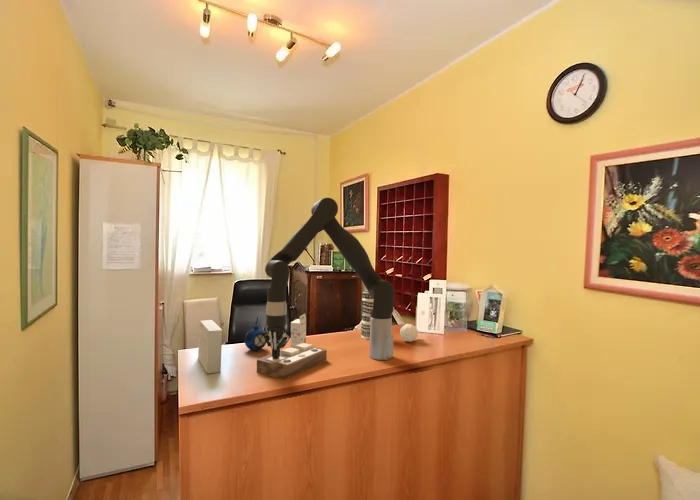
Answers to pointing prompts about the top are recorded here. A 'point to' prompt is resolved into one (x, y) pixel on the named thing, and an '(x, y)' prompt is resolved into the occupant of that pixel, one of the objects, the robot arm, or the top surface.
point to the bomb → (255, 338)
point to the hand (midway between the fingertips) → (275, 358)
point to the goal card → (299, 356)
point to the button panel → (290, 365)
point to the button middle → (290, 352)
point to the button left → (276, 359)
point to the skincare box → (210, 346)
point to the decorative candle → (366, 313)
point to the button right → (303, 347)
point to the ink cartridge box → (298, 331)
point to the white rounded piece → (409, 332)
